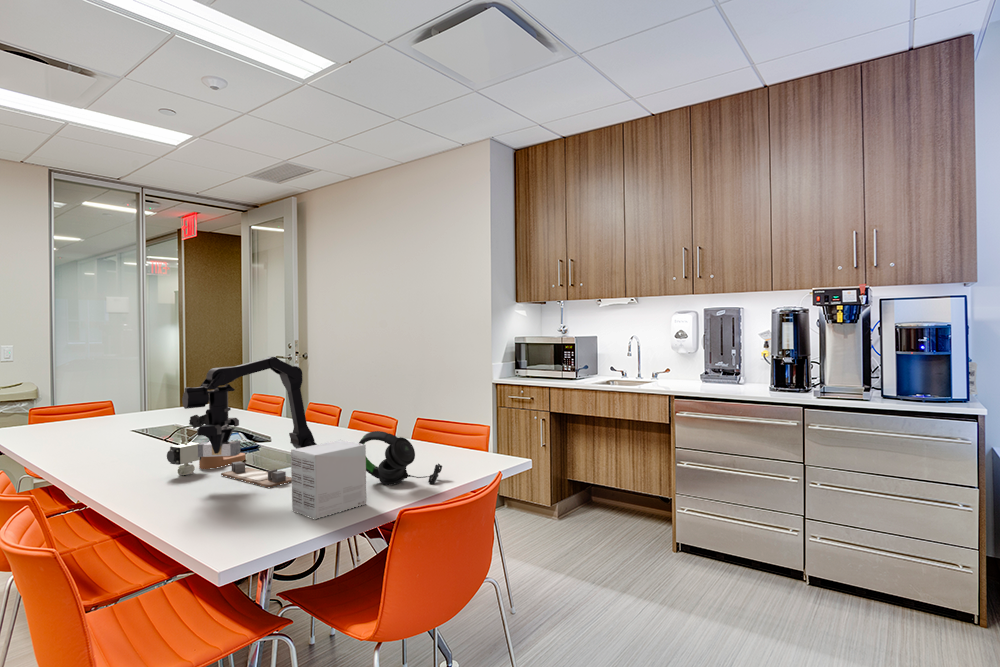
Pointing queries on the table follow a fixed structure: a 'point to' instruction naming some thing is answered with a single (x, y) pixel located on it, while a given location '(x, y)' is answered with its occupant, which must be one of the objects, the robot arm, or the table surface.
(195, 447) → the pneumatic valve
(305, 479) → the supplement box
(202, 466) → the bracket
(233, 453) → the steel coupler
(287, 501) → the table surface
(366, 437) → the headset
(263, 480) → the stand
